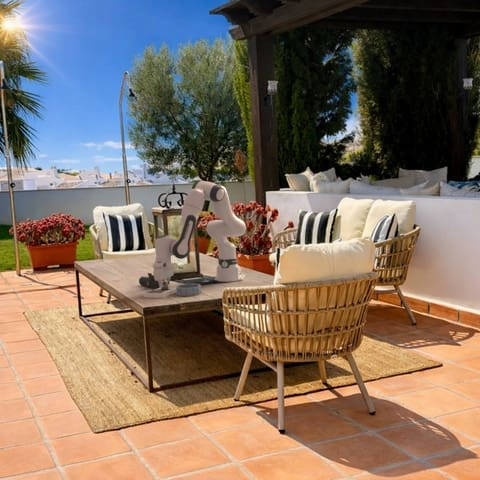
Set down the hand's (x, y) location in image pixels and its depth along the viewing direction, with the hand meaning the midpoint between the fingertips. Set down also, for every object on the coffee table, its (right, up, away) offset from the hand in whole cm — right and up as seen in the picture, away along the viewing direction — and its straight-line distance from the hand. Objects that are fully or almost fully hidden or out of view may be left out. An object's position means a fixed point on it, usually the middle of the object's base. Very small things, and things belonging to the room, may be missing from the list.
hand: (164, 286), depth 369 cm
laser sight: (-10, -3, +20) cm, 22 cm away
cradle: (-1, -4, -3) cm, 6 cm away
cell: (0, -4, +1) cm, 4 cm away
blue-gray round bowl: (+15, -4, -6) cm, 16 cm away
